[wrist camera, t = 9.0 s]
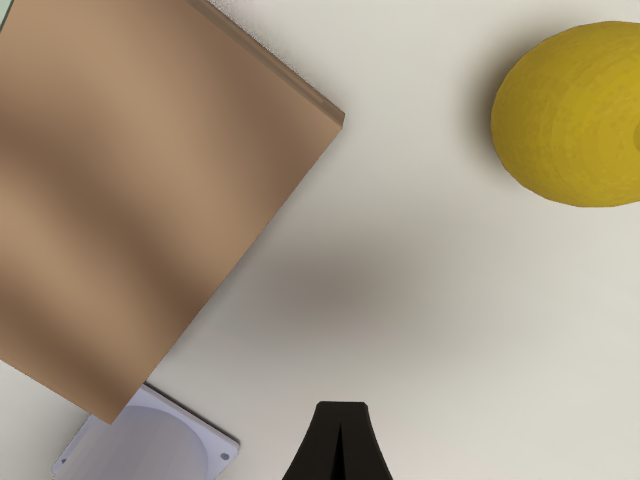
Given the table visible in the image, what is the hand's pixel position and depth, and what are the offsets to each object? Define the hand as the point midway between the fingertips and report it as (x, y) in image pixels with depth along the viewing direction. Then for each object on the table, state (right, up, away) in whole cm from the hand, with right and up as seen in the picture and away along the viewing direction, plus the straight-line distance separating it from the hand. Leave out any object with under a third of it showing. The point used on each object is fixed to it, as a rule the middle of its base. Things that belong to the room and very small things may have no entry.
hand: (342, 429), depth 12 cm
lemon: (+8, +11, +6) cm, 15 cm away
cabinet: (-8, +8, +8) cm, 14 cm away
